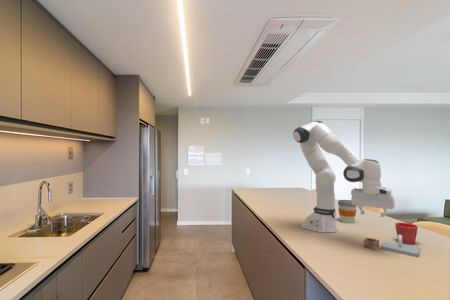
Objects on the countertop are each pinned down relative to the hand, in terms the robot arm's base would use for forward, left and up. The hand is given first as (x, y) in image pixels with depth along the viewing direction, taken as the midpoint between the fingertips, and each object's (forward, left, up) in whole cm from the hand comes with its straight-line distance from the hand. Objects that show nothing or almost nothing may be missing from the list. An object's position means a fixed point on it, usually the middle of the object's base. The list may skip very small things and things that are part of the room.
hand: (372, 215), depth 137 cm
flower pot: (+13, +23, -17) cm, 32 cm away
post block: (+12, +6, -17) cm, 22 cm away
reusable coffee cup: (-25, +47, -17) cm, 56 cm away
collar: (0, -1, -17) cm, 17 cm away
